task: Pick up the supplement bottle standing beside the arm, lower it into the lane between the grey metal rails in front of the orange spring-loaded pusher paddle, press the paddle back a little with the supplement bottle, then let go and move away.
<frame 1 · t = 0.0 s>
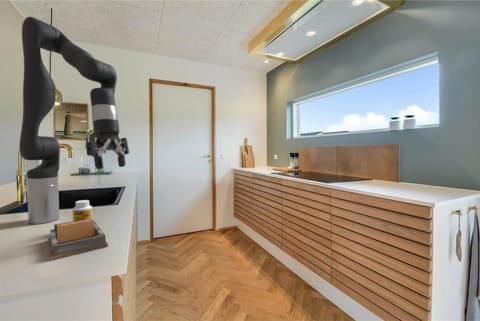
hand: (111, 167, 77), 22 cm above the worktop, tool pointing down, fingers open, 8 cm apart
supplement bottle: (83, 230, 81), on the worktop
lane: (77, 243, 69), on the worktop
pusher paddle: (76, 230, 70), point 4 cm above the worktop, slide at 0.0 cm
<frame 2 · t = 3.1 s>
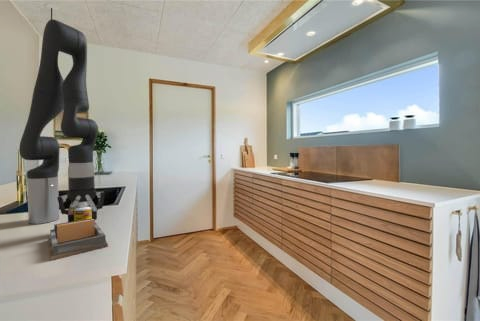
hand: (82, 222, 80), 3 cm above the worktop, tool pointing down, fingers closed on supplement bottle, 5 cm apart
supplement bottle: (83, 230, 81), on the worktop, touching gripper
everything else where it was.
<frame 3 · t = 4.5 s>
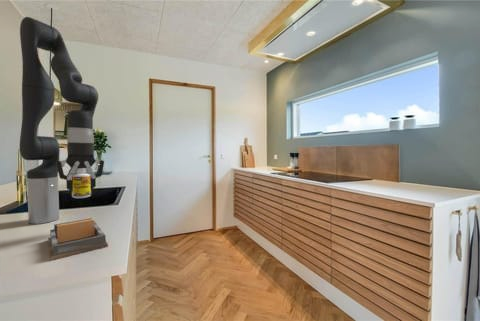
hand: (81, 189, 80), 14 cm above the worktop, tool pointing down, fingers closed on supplement bottle, 5 cm apart
supplement bottle: (81, 197, 80), point 12 cm above the worktop, touching gripper
everything else where it was.
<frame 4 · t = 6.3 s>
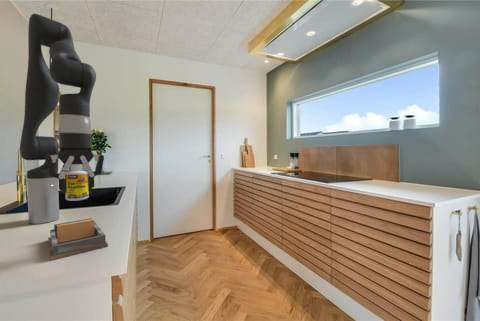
hand: (77, 190, 66), 17 cm above the worktop, tool pointing down, fingers closed on supplement bottle, 5 cm apart
supplement bottle: (77, 199, 66), point 14 cm above the worktop, touching gripper
everything else where it was.
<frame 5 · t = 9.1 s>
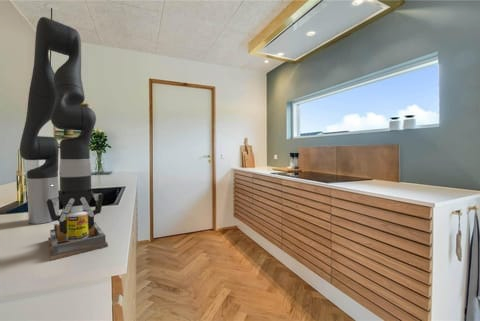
hand: (77, 230, 68), 4 cm above the worktop, tool pointing down, fingers closed on supplement bottle, 5 cm apart
supplement bottle: (77, 239, 68), point 2 cm above the worktop, touching gripper, pusher paddle
pusher paddle: (76, 229, 70), point 4 cm above the worktop, slide at 0.8 cm, touching supplement bottle
when the fingers open (4 cm above the worktop, at t = 9.4 s): supplement bottle drops 1 cm, resting on lane.
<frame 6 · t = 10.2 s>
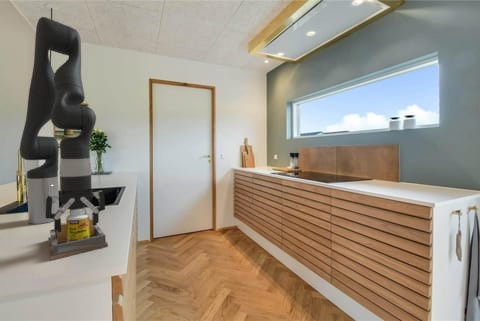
hand: (77, 228, 68), 5 cm above the worktop, tool pointing down, fingers open, 8 cm apart
supplement bottle: (78, 242, 68), point 1 cm above the worktop, touching lane
pusher paddle: (76, 229, 70), point 4 cm above the worktop, slide at 0.8 cm
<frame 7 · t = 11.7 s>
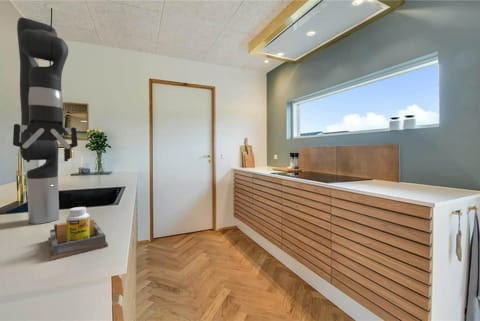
hand: (47, 161, 67), 25 cm above the worktop, tool pointing down, fingers open, 8 cm apart
nothing on the worktop moved.
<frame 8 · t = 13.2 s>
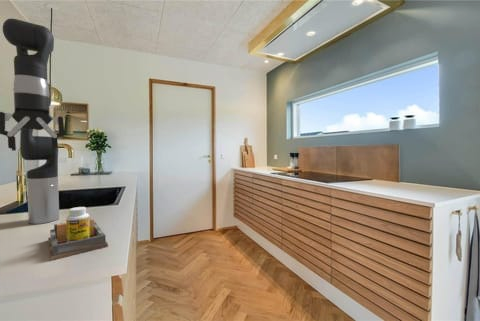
hand: (34, 150, 67), 28 cm above the worktop, tool pointing down, fingers open, 8 cm apart
nothing on the worktop moved.
at the end: supplement bottle inside the target area (1.8 cm from its centre), point 0.6 cm above the worktop; supplement bottle tilted 0°; the gripper is holding nothing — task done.
